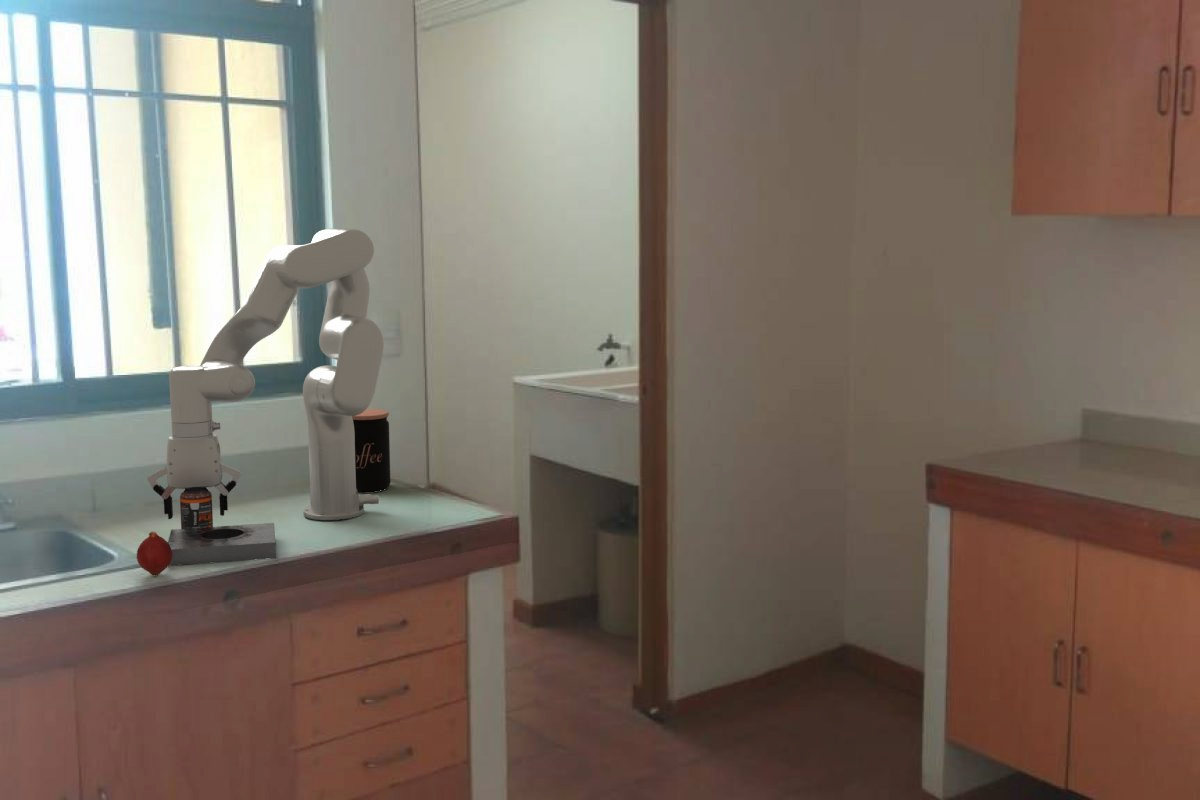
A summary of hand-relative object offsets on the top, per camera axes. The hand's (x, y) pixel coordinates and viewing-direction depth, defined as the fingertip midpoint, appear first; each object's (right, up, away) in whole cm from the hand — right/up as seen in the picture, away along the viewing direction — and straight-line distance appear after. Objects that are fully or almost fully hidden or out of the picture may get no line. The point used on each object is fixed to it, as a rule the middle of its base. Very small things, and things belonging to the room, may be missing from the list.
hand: (196, 515), depth 231 cm
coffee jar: (+25, +2, +44) cm, 51 cm away
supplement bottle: (0, -5, +1) cm, 4 cm away
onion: (+1, -8, -25) cm, 26 cm away
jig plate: (+8, -6, -9) cm, 14 cm away
